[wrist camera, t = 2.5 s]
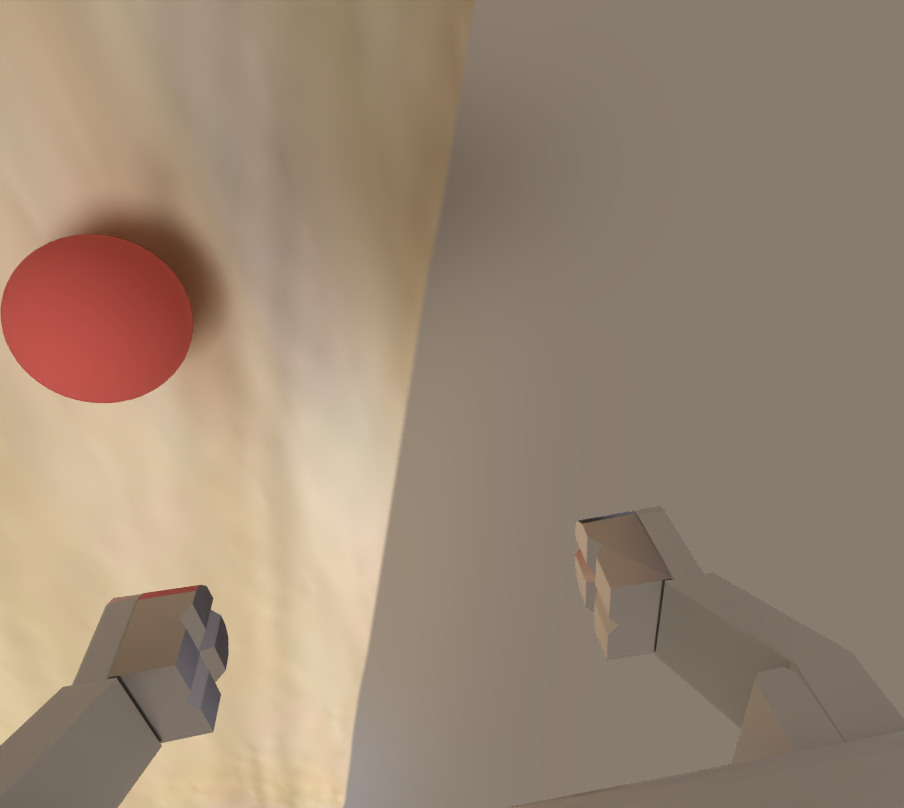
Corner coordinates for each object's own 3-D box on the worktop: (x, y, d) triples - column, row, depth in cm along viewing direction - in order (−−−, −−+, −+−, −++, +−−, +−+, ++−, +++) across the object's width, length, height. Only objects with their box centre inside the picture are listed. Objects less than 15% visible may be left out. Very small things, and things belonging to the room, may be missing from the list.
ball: (15, 225, 23) (-79, 285, 18) (178, 203, 23) (130, 255, 18) (84, 364, 26) (20, 448, 21) (225, 343, 27) (195, 421, 22)
